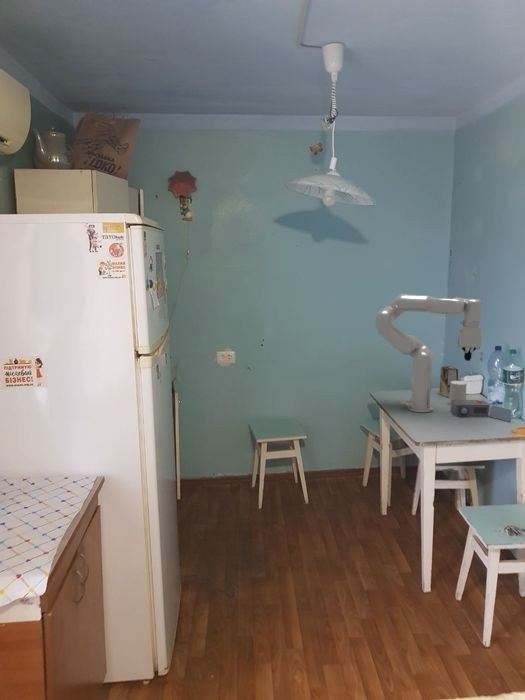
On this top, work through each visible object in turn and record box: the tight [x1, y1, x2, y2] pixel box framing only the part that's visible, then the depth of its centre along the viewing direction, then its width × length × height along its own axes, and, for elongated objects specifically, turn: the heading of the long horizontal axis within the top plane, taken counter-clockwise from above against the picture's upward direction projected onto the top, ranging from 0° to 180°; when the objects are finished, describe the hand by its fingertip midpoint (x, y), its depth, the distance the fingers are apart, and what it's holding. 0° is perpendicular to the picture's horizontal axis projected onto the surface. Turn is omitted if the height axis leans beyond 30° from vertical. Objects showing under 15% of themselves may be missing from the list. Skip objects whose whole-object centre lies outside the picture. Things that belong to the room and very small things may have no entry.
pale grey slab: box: [489, 403, 513, 422], centre depth 258 cm, size 10×2×6 cm, turn 38°
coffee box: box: [439, 365, 459, 398], centre depth 301 cm, size 9×6×16 cm
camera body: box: [450, 399, 490, 417], centre depth 267 cm, size 16×11×7 cm, turn 86°
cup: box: [449, 380, 467, 406], centre depth 284 cm, size 8×8×12 cm
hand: (467, 360), depth 263 cm, fingers closed
